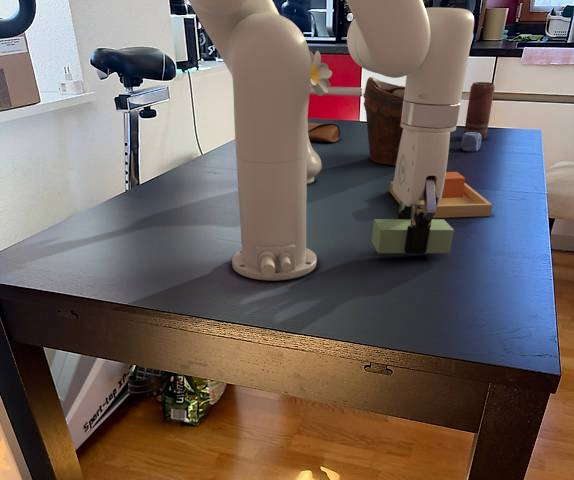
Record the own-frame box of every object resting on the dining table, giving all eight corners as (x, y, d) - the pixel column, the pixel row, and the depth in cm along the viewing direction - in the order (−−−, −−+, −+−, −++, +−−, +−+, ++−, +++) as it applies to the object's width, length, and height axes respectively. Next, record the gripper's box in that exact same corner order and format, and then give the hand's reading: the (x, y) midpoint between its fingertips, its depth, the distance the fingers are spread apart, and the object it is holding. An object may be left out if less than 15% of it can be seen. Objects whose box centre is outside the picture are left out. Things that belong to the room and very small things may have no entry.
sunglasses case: (271, 139, 162) (274, 114, 161) (277, 148, 168) (280, 124, 168) (333, 142, 157) (337, 117, 157) (338, 151, 164) (341, 127, 164)
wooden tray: (490, 216, 104) (492, 204, 103) (411, 218, 103) (412, 207, 102) (459, 189, 119) (460, 179, 118) (389, 191, 118) (390, 181, 117)
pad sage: (449, 253, 86) (454, 229, 84) (377, 253, 86) (380, 229, 84) (440, 241, 91) (444, 219, 89) (371, 241, 90) (373, 218, 88)
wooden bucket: (454, 164, 137) (466, 79, 127) (380, 172, 131) (387, 84, 121) (414, 149, 151) (422, 72, 141) (345, 156, 145) (349, 76, 135)
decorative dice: (475, 152, 147) (478, 135, 145) (460, 150, 149) (462, 134, 147) (479, 149, 150) (482, 132, 148) (464, 147, 152) (467, 131, 150)
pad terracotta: (462, 197, 112) (465, 178, 110) (407, 198, 112) (409, 179, 110) (454, 190, 116) (457, 171, 114) (401, 191, 116) (402, 173, 114)
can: (458, 137, 163) (465, 82, 155) (475, 135, 165) (484, 81, 157) (472, 141, 158) (481, 84, 150) (490, 139, 160) (500, 83, 153)
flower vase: (333, 171, 133) (337, 45, 119) (322, 193, 118) (325, 52, 104) (278, 169, 135) (276, 46, 121) (260, 190, 120) (255, 52, 106)
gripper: (388, 106, 85) (374, 227, 95) (418, 127, 71) (399, 267, 81) (438, 107, 85) (419, 227, 95) (478, 128, 71) (451, 267, 81)
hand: (410, 244), depth 88 cm, fingers closed on pad sage, 5 cm apart
